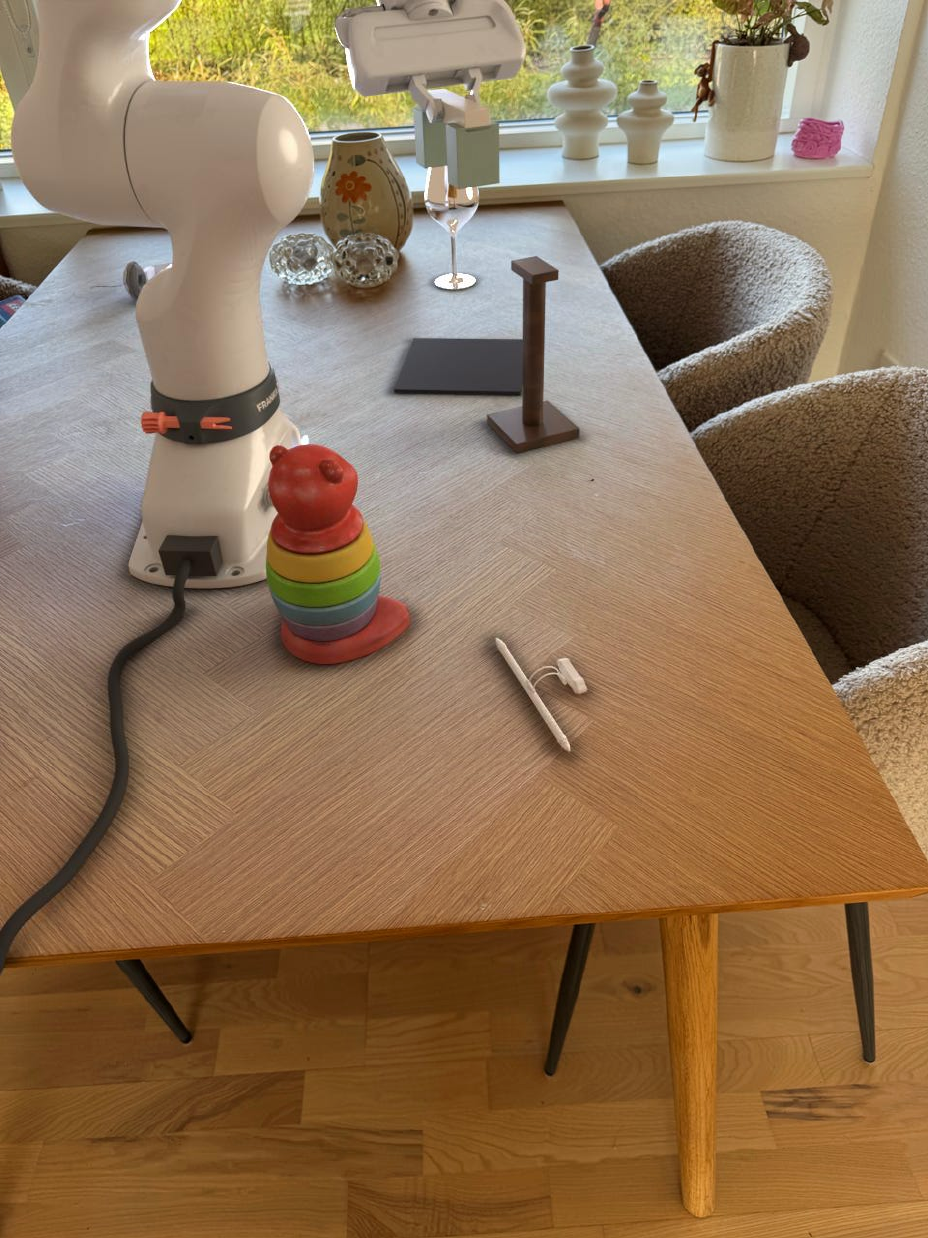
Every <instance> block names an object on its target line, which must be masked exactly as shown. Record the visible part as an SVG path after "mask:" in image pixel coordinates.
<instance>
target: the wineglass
mask: <svg viewBox="0 0 928 1238" xmlns="http://www.w3.org/2000/svg"><path fill="white" fill-rule="evenodd" d="M478 187H479V186H478ZM478 187H472V188H465V189H457V188H455V187H454V186H452V185H450V184H449V183H448V169H447V166H441V167H434V168H427V175H426V181H425V187H424V195H423V196H424V199H423V200H424V206H425V209H426V211H427V213H428V214H429V216H430V217H431V218H432V219H433V220H434V221H435V222H437V224H439V225H440V226H441V227H442V228H443V229H445V231H446V232H448V234H449V236H450V249H451V250H450V251H451V273H449V274H445V275H442V276H439V277H438V278H436V279H435V280H434V284H435V286H436V287H437V288H439V289H442V290H452V291H455V290H463V289H467V288H470V287H472V286H474V285H475V283H476V278H475V277H474V276H472V275H469V274H464V273H459V270H458V256H457V255H458V254H457V236H458V234H459V231H460V230H461V229H462V227H464V225H466V224H467V223H468V222H469V221H470V219H471V218H472V217H473V216H474V215H475V213H476V211H477V210H478V206H479V203H480V193H479V188H478Z"/></svg>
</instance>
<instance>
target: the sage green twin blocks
mask: <svg viewBox="0 0 928 1238" xmlns="http://www.w3.org/2000/svg"><path fill="white" fill-rule="evenodd" d="M427 91H428V92H429V93H430V94H431V95H432V96H433V98H434V99H439V98H441V99H442V103H443V105H442V106H443V107H444V109H445V117H444V118H443V119H444V120H443V121H442V122H435V123H430V122H429V119H428V116H427V113H426V110H424V109H422V108H421V107H420V106H419V105H418V106H413V107H412V113H413V128H414V147H415V163H416V164H417V165H418V166H420V167H421V168H423V169H426V170H428V169H429V168H434V167H441V166H447V169H448V183H449V184H450V185H452V186H454V187H455V188H457V189H465V188H472V187H484V186H491V185H497V184H500V181H501V180H500V123H499V122H497V121H494V120H493V119H491V108H489V107H487V106H485V105H483V104H481V105H480V104H478V103H476V102H474V101H471V100H469V99H467V98H465V96H462V95H460V94H457V93H455V92H453V91H450V90H448V89H447V88H440V89H439V88H436V89H427Z"/></svg>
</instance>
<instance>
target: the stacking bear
mask: <svg viewBox="0 0 928 1238" xmlns="http://www.w3.org/2000/svg"><path fill="white" fill-rule="evenodd" d="M269 458H270V462H271V463H272V468H271V470H270V474H269V479H268V490H269V494H270V498H271V501H272V503H273V505H274V507H275V509H276V511H277V512H278V514H277V515H276V517H275V518H274V520H273V522H272V525H271V530H270V532H269V535H268V541H267V557H266V577H267V578H266V582H267V586H268V591H269V593H270V597H271V599H272V601H273V604H274V605H275V607H276V609H277V612H278V614H279V615H280V616H279V617H281V619H282V621H281V629H280V630H281V631H280V634H281V640H282V643H283V645H284V647H285V649H287V651H288V652H289V653H290V654H291V655H293V656H294V657H296V658H298V659H300V660H301V661H305V662H308V663H312V664H319V665H334V664H340V663H345V662H349V661H353V660H357V659H359V658H361V657H365V656H367V655H369V654H372V653H374V652H376V651H378V650H380V649H382V648H384V647H385V646H387V645H389V644H390V643H392V642H393V641H394V640H396V639H397V638H398V637H399V636H400V635H401V634H402V633H404V631H406V630H407V628H408V627H409V625H410V624H411V617H410V612H409V609H408V606H407V605H406V604H405V603H404V602H401V601H399V600H397V599H396V598H393V597H388V596H382V595H379V593H380V591H381V590H380V589H381V578H382V577H381V574H382V572H381V571H382V570H381V562H380V556H379V552H378V549H377V547H376V544H375V542H374V539H373V536H372V533H371V531H370V529H369V527H368V523H367V522H366V520H365V519H364V516H363V514H362V513H361V511H360V510H359V509H358V508H357V507H356V506H355V505H354V504H353V503H354V500H355V498H356V495H357V491H358V485H359V484H358V483H359V476H358V471H357V470H356V468H355V467H354V465H353V464H352V463H351V462H348V460H346V459H345V458H344V457H343V456H342V455H340V454H339V453H338V452H336V451H335V450H333V449H331V448H329V447H327V446H324V445H321V444H314V443H308V444H304V445H299V446H295V447H293V448H291V449H289V450H288V449H286V448H285V447H284V446H281V445H277V446H274V447H273V448H272V449H271V451H270V455H269Z"/></svg>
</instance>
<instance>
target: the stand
mask: <svg viewBox="0 0 928 1238" xmlns="http://www.w3.org/2000/svg"><path fill="white" fill-rule="evenodd" d="M510 270H511V271H512V272H513V273H515V274H516V275H518V276H519V277H521V278H522V339H523V369H522V389H521V396H522V397H521V398H522V399H521V400H522V403H521V406H517V407H513V408H509V409H505V410H500V411H497V412H492V413H488V414H487V415H486V423H487V425H488V426H489V427H490V428H491V429H492V430H493V431H494V432H495V433H496V434H497V435H498V436H499V437H500V438H501V439H502V440H503V441H504V442H505V443H506V444H507V446H509V448H510V449H511V450H513V451H514V453H516V454H520V453H524V452H526V451H527V452H528V451H532V450H536V449H541V448H544V447H547V446H552V445H556V444H559V443H563V442H567V441H572V440H575V439H579V438H580V431H581V430H580V426H577V424H575V423H574V422H573V421H572V420H571V419H569V418H568V417H567V416H566V415H565V414H564V413H562V411H561V410H559V409H558V408H557V407H556V406H555V405H554V404H552V403H551V402H550V401H549V400H548V399H547V400H544V397H545V396H544V392H545V386H544V385H545V345H546V344H545V343H546V296H547V294H546V292H547V283H549V282H554V281H559V269H558V268H556V267H554V266H553V265H551V264H550V263H548V262H547V261H545V260H543V259H542V258H541V257H539V256H537V255H535V256H530V257H524V258H519V259H512V260H510Z"/></svg>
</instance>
